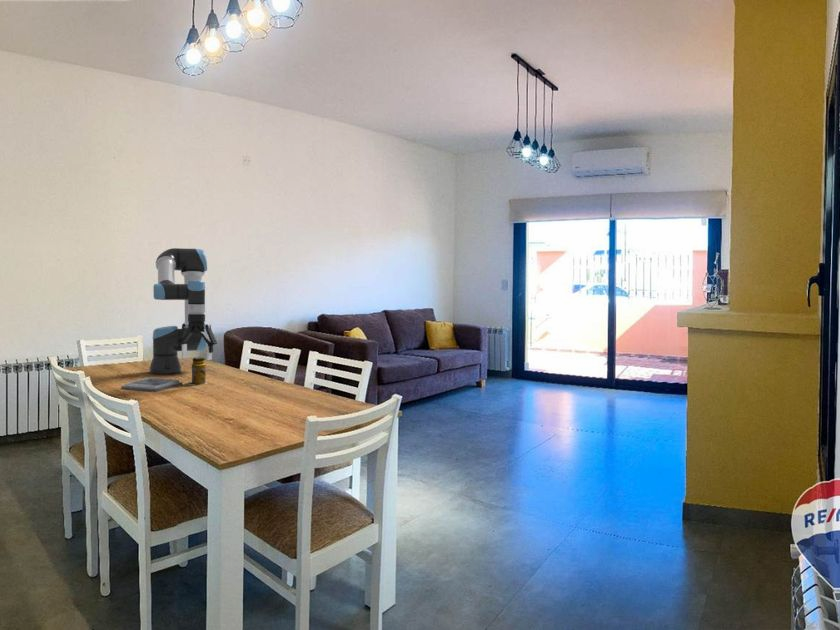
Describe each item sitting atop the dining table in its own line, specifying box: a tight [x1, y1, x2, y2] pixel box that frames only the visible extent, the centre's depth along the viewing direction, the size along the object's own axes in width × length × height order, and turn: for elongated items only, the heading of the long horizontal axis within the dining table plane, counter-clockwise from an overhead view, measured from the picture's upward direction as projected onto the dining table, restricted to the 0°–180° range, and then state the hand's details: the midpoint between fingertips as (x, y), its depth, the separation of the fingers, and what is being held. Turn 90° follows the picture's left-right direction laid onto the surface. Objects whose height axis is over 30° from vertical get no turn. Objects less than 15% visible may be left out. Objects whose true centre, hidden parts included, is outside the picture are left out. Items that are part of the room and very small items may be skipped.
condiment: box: [185, 356, 209, 386], centre depth 284 cm, size 7×8×12 cm
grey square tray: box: [120, 377, 184, 393], centre depth 275 cm, size 18×18×2 cm
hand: (196, 359), depth 283 cm, fingers open, 13 cm apart
